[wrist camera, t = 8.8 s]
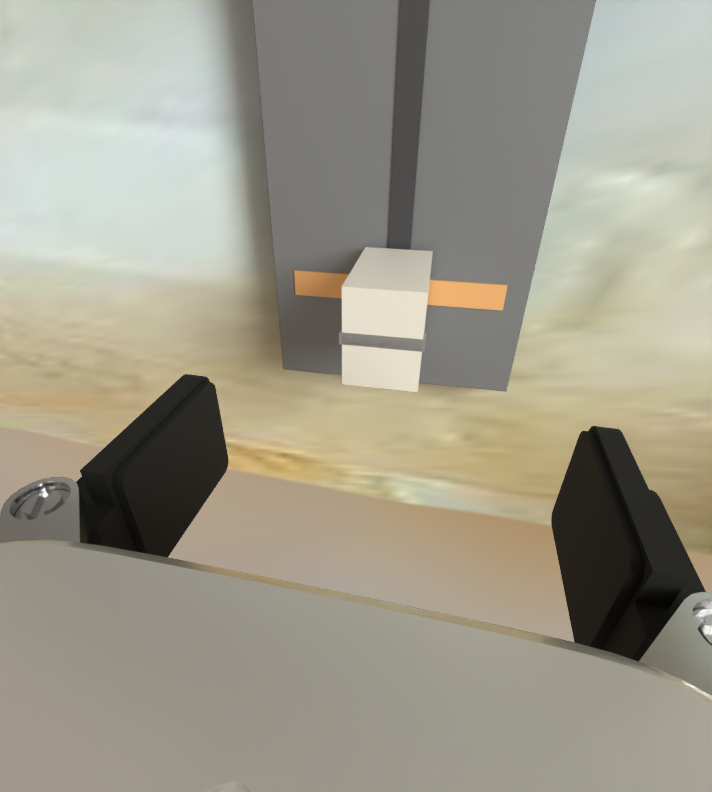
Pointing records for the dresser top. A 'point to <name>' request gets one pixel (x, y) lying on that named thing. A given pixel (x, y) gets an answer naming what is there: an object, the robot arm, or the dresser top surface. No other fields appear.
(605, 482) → the robot arm
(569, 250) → the dresser top surface
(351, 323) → the fader tab
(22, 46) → the dresser top surface
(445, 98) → the fader board
